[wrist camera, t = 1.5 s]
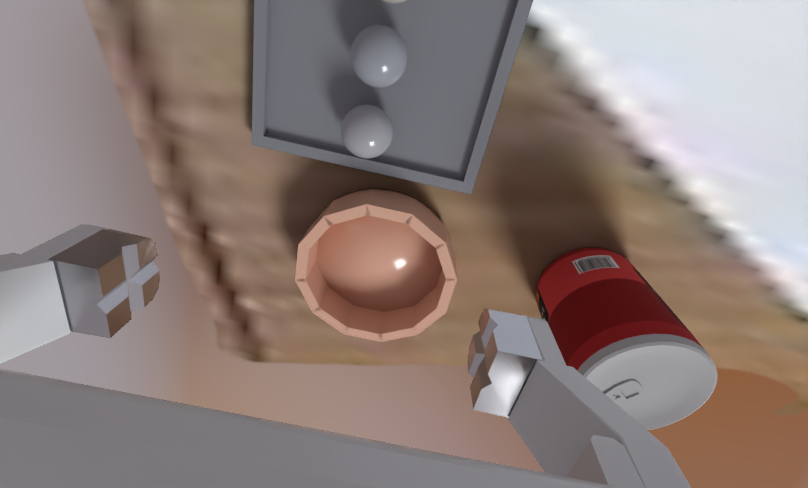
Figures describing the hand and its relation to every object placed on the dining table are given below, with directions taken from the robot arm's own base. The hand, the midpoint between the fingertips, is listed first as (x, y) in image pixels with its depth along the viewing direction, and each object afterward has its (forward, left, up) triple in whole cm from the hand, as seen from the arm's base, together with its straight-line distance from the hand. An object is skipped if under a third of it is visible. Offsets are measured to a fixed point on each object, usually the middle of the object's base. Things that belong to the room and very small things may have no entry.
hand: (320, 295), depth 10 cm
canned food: (+9, +18, -20) cm, 29 cm away
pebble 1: (-4, -1, -18) cm, 18 cm away
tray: (-4, -1, -20) cm, 21 cm away
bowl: (+11, +1, -20) cm, 23 cm away
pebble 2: (0, -1, -18) cm, 18 cm away
